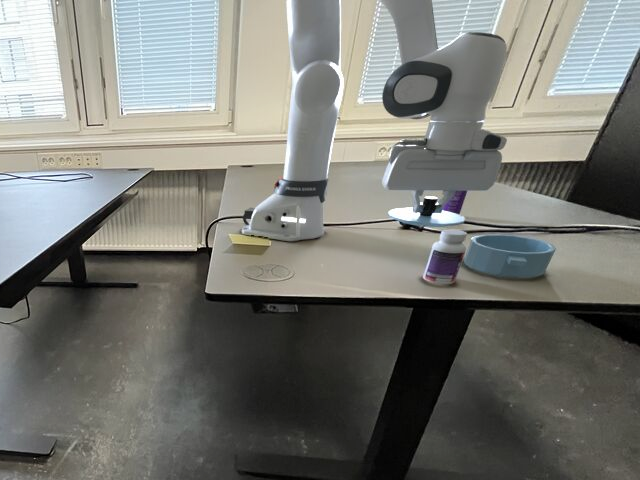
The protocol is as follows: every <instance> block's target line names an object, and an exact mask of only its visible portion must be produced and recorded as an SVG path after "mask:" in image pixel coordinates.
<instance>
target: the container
mask: <svg viewBox="0 0 640 480" xmlns="http://www.w3.org/2000/svg"><path fill="white" fill-rule="evenodd" d="M467 193H468V191H455V194H454V196H453V197H452V198H451V199H450V200H449V201H448V202H447V203H446V204H445V205H444V208H443V211H448V212H452V213H456V214H459V215H461V211H462V209H463V206H464V202H465V199H466V196H467Z"/></svg>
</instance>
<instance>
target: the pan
mask: <svg viewBox="0 0 640 480" xmlns="http://www.w3.org/2000/svg"><path fill="white" fill-rule="evenodd" d="M470 239H471V240H470V243H469V245H468V246H467V247H468V248H467V249H466V252H465V255H464V257H463V263H464V265H465V266H467V267H468V268H470V269H473V270H476V271H478V272H481V273H485V274H490V275H494V276H500V277H509V278H535V277H540V276H543V275H544V274H545V273H546V271H547V268H548V266H549V264H550V262H551V260H552V258H553V257H554V255H555V252H556V250H557V248H556V247H555V246H554V244H553V243H549V242H547V241H545V240H542V239H538V238H532V237H527V236H520V235H513V234H500V233H499V234H498V233H497V234H493V233H492V234H481V235H476V236H474V237H472V238H470Z"/></svg>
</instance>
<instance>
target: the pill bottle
mask: <svg viewBox="0 0 640 480" xmlns="http://www.w3.org/2000/svg"><path fill="white" fill-rule="evenodd" d="M467 235H468V232H467V231H464V230H459V229H443V230H442V231H441V232H440V235H439V240H437V241H435V242H434V243H433V244H432V247H431V249H430V253H429V256H428V259H427V262H426V265H425V268H424V271H423V275H422V278H423V279H424V281H427V282H429V283H433V284H438V285H439V284H441V285H451V284H453V283H455V281H456V280H457V279H456V278H457V277H458V273H459V270H460V267H461V264H462V262H463V260H464V257H465V255H466V252H467V246H466V245H465V244H464V243H463V242H465V241H466V238H467Z"/></svg>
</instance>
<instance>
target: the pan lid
mask: <svg viewBox="0 0 640 480" xmlns="http://www.w3.org/2000/svg"><path fill="white" fill-rule="evenodd" d="M438 199H439V198H438V197H436V196H425V197H424V198H423V202H422V203H423V204H425V206H424V208H423V212H422V213H413V212H412V209H413V207H399V208H394V209H393V208H392V209H390V210H389V211H388V212H387V216H388V217H389V218H391V219H393V220H395V221H398V222H401V223H403V224H406V225H412V226H417V227H426V228H427V227H428V228H430V227H431V228H445V227H454V226H459V225H463V224H464V223H465V221H466V218H465V216H463V215H461V214H456V213H452V212H448V211H443V210H442V213H433V212H434V209H435V206H436V203H438V201H439V200H438Z"/></svg>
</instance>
